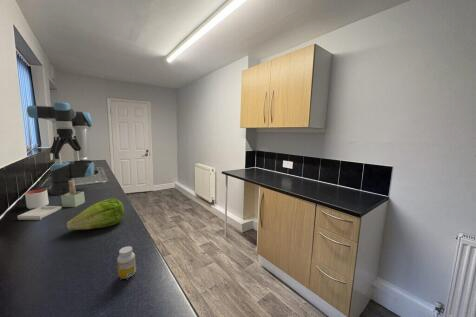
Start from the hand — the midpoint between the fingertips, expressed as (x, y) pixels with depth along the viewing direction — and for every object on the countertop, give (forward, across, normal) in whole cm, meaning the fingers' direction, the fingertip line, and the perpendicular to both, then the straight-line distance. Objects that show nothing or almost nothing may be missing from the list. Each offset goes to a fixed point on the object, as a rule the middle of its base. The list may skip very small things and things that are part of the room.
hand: (68, 162), depth 126 cm
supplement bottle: (+29, +62, +68) cm, 96 cm away
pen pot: (+29, 0, 0) cm, 29 cm away
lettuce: (+29, +27, +35) cm, 53 cm away
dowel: (+28, 0, 0) cm, 28 cm away
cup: (+29, +2, -21) cm, 36 cm away
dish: (+29, +14, -8) cm, 33 cm away
